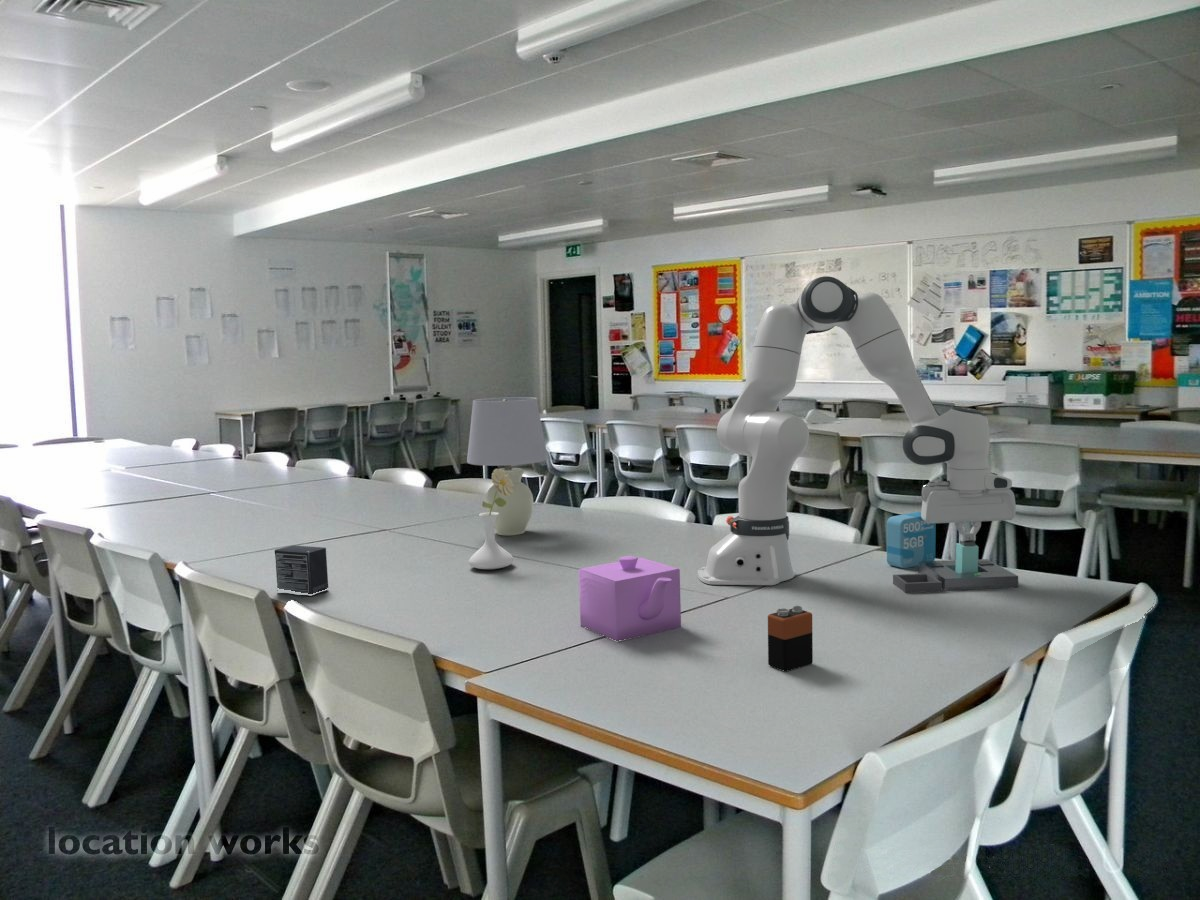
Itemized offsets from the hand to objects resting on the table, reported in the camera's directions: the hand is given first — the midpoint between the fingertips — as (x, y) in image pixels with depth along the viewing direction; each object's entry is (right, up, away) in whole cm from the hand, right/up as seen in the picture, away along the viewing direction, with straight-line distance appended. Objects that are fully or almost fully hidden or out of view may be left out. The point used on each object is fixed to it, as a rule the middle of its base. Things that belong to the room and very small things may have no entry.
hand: (967, 541), depth 212 cm
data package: (-7, -7, +17) cm, 20 cm away
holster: (-13, -10, -4) cm, 17 cm away
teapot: (-76, -15, -27) cm, 82 cm away
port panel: (0, -9, +1) cm, 9 cm away
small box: (-152, -13, +10) cm, 153 cm away
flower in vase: (-109, -10, +28) cm, 113 cm away
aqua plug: (0, -9, +1) cm, 9 cm away
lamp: (-109, -5, +71) cm, 130 cm away
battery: (-50, -17, -51) cm, 73 cm away
